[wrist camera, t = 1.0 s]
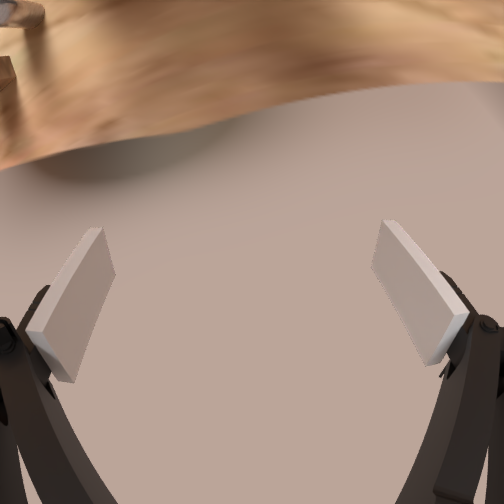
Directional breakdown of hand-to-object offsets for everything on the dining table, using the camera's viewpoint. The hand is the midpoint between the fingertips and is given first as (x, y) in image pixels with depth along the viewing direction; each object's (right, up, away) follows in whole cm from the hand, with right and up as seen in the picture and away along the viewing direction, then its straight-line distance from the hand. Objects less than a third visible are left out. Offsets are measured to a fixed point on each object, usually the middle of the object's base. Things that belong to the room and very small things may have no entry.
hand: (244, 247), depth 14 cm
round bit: (-29, +32, +10) cm, 44 cm away
